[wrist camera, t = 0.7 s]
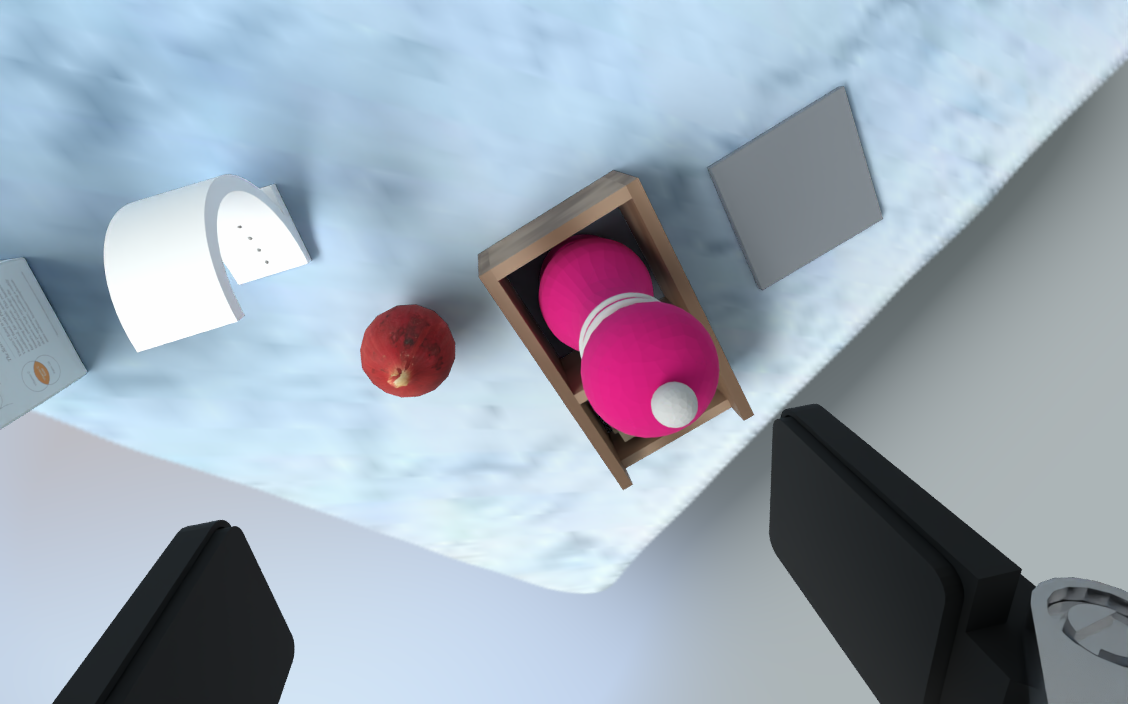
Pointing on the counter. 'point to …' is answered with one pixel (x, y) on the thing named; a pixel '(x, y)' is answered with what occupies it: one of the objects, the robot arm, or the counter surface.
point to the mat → (798, 189)
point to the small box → (30, 345)
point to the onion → (407, 351)
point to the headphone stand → (194, 256)
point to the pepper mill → (627, 338)
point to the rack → (567, 370)
